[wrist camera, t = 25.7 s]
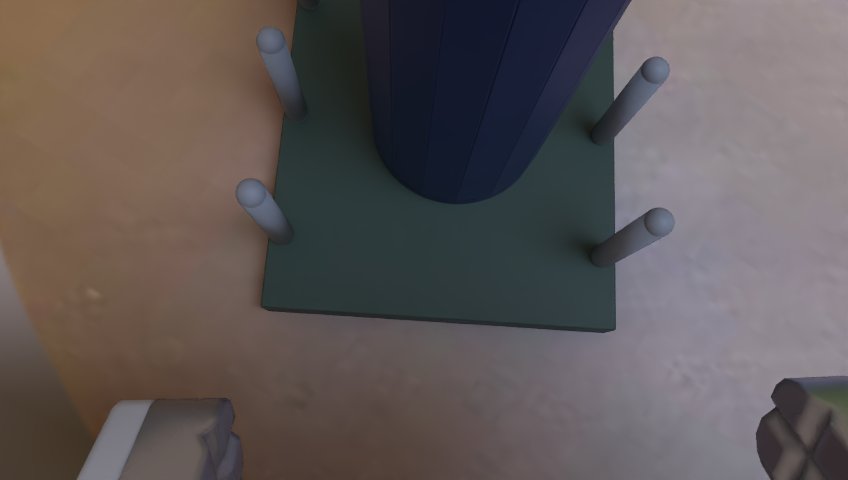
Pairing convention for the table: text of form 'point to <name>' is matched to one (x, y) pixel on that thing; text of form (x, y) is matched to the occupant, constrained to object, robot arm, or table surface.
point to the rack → (435, 221)
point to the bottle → (474, 85)
